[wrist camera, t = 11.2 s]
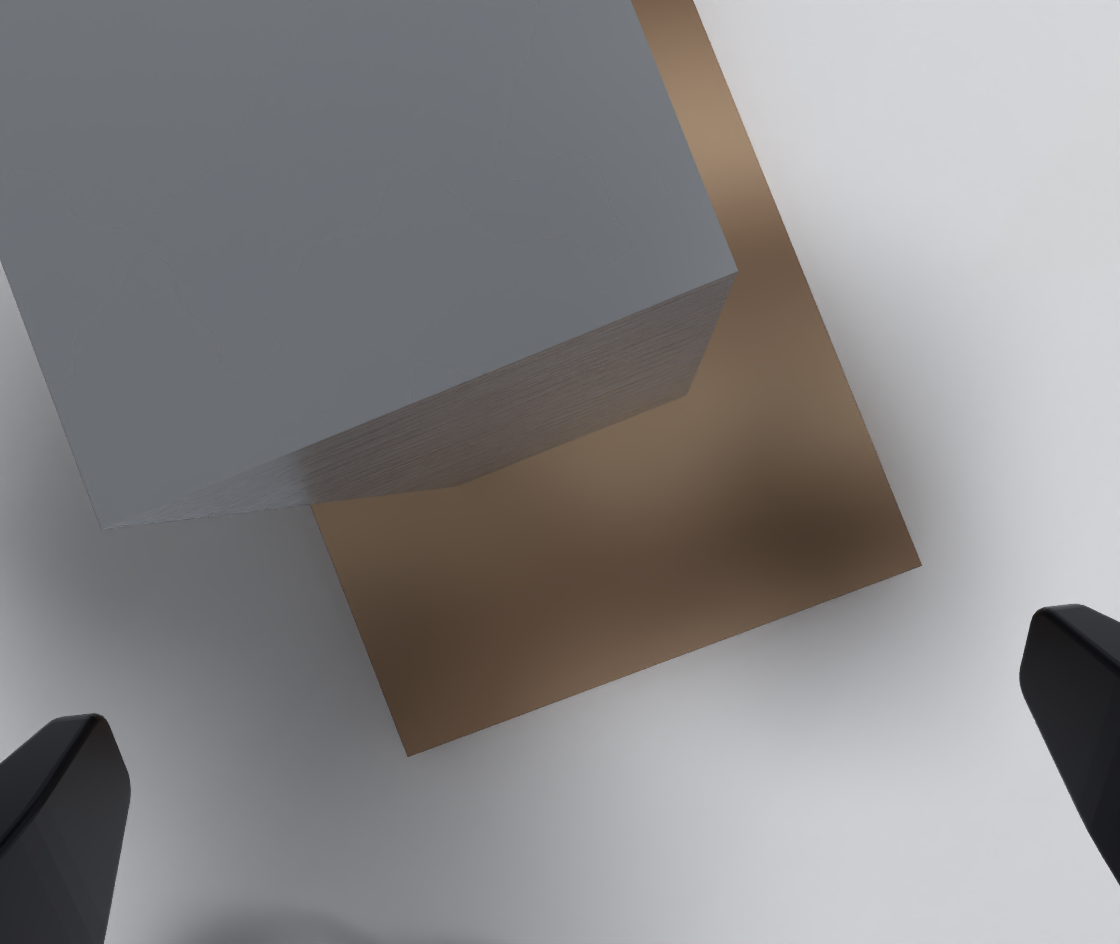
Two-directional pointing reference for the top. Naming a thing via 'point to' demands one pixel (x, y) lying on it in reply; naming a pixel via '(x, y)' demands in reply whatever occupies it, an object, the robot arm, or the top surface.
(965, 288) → the top surface
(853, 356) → the top surface
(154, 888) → the top surface
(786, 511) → the plate
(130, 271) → the jaw
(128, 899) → the top surface
